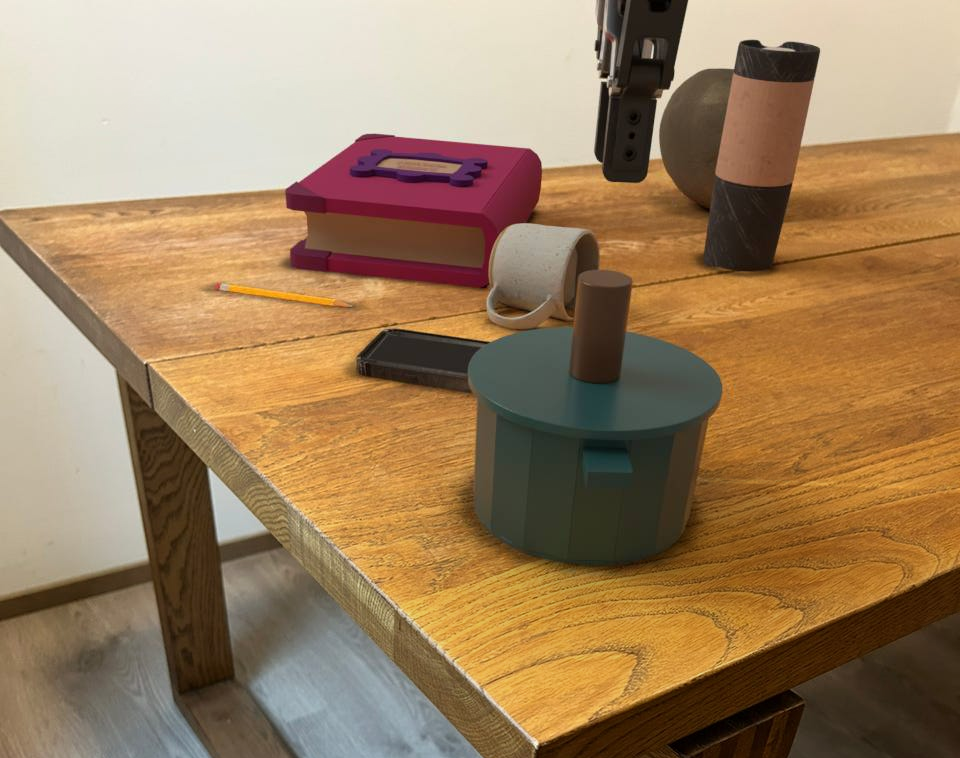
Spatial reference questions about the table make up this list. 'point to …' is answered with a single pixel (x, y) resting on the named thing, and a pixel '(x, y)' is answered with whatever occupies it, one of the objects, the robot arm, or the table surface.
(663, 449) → the pot
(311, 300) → the pencil
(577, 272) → the ceramic mug
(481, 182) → the book
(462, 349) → the phone
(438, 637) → the table surface
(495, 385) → the lid
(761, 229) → the travel mug
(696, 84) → the brown textured sphere
